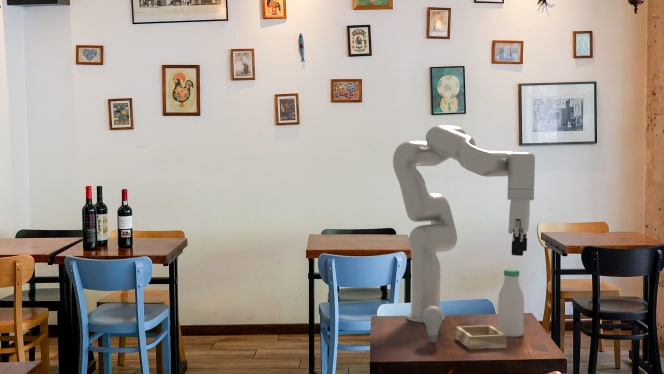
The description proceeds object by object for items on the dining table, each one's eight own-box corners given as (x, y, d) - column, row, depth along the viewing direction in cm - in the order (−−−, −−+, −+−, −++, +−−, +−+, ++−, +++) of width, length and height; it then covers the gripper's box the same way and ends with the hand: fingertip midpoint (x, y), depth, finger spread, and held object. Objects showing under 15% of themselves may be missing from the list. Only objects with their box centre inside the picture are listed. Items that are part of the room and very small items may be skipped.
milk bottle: (524, 338, 217) (525, 272, 216) (497, 336, 219) (499, 271, 218) (522, 331, 225) (523, 268, 224) (497, 330, 227) (498, 267, 225)
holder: (455, 338, 217) (455, 326, 217) (490, 336, 219) (490, 325, 218) (470, 349, 205) (470, 336, 205) (506, 347, 207) (506, 335, 207)
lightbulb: (447, 343, 212) (447, 306, 211) (435, 347, 207) (436, 309, 206) (429, 339, 216) (430, 303, 215) (418, 343, 211) (418, 306, 210)
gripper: (511, 192, 219) (509, 248, 220) (503, 196, 203) (502, 256, 204) (536, 193, 216) (535, 249, 217) (531, 197, 200) (529, 258, 201)
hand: (519, 253), depth 210 cm, fingers open, 9 cm apart
